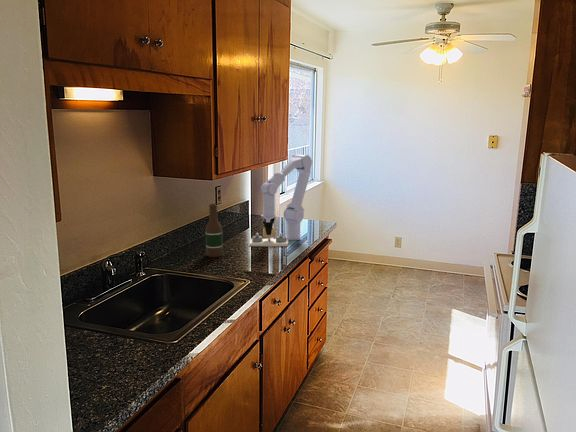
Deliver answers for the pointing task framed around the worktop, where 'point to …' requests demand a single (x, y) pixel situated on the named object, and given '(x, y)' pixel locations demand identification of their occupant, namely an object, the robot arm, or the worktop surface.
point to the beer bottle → (214, 234)
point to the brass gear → (269, 235)
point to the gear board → (269, 241)
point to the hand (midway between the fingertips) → (269, 233)
